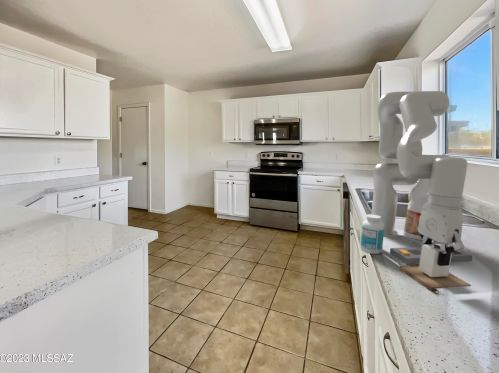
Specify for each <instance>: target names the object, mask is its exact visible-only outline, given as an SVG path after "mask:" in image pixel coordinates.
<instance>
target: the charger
mask: <svg viewBox="0 0 499 373" xmlns="http://www.w3.org/2000/svg"><path fill="white" fill-rule="evenodd" d="M421 247H422V250H421V257H420V264H418V265H419V270H421V271H422V272H424V273H425V274H427V275H428V276H430V277H441V276H448V274H449V273H450V268H451V263H452V262H451V257H450V263H449V265H448V266H439V265H438V264H437V263H438V256H439V252H442V251H441V243H432V244H428V245H423V244H422V245H421ZM451 256H452V253H451Z"/></svg>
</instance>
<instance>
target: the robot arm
mask: <svg viewBox="0 0 499 373" xmlns="http://www.w3.org/2000/svg"><path fill="white" fill-rule="evenodd" d="M449 107H450V97H449V95H448V94H447V93H446V92H444V91H442V90H419V91H417V90H416V91H392V92H388V93H385V94H383V95H381V97H380V98H379V101H378V104H377V117H378V122H379V140H378V141H379V142H378V156H379V157H380V159H383V160H395V161H397V162H381V163H378V164H376V165H375V166H374V167H373V170H372V178H373V193H372V194H373V195H372V205H371V214H370V215H378V216H381V221H380V222H381V223H383V224H384V237H393V236H398V235H399V232H398V231H397V230H396V229H395V225H396V218H397V207H398V198H399V195H398V193H397V191H396V189H395V188H394V186H414V185H415V184H416V185H417V184H418V182H419V180H420V179H430V185H429V193H428V194H427V197H428V199H427V202H425V204H424V206H423V209H422V212H421V215H420V220H419V225H418V228H417V230H418V232H419V233H420V236H421V238H422V240H421V243H422V245H428V244H434V241H435V242H437V243H438V244H440V245H441V251H442V252H439V256H438V263H437V264H438V265H439V266H448V265H449V263H450V264H451V262H450V257H451V253H454V252H455V251H457V250H463V249H465V246H464V243H463V240H462V239H461V238H462V234H463V233H462V232H463V209H462V208H461V205H462V200H463V193H464V187H465V182H466V175H467V168H468V160H467V159H466V158H463V157H459V156H458V157H457V156H455V157H454V156H449V155H446V154H445V155H444V154H423V145H422V140H423V139H426V138H428V137H429V136H431V135H432V134H434V133H435V131H436V130H437V128H438V126H437V125H438V124H437V122H436V121H437V120H436V119H435V117H439V116H443V115H444V114H445V113H447V111H448V109H449ZM398 115H401V118H402V120H401V118H400V117H399V116H398ZM404 129H405V134H404ZM446 246H448V248H447V247H446Z"/></svg>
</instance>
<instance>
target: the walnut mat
mask: <svg viewBox="0 0 499 373" xmlns="http://www.w3.org/2000/svg"><path fill="white" fill-rule="evenodd" d="M399 270H401V271H402V272H403V273H404V272H405V275H408V277H410V278H411V279H413V280H414V281H416V282H417V283H418V284H420V285H421V286H423V287H424V288H425V287H426V289H427V290H428V291H430V292H439V290H438V289H439V288H440V289H441V288H452V287H469V286H471V284H470V283H468V282H467V281H465V280H464V279H462V278H459V277H458V276H457V275H455V274H453V273H451V272H449V274H448V276H441V277H430V276H428V275H427V274H425V273H424V272H422V271H421V270H419V264H405V265H399Z"/></svg>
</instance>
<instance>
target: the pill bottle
mask: <svg viewBox="0 0 499 373" xmlns="http://www.w3.org/2000/svg"><path fill="white" fill-rule="evenodd" d="M380 221H381V216H378V215H371V214H367V215H366V219H365V220H364V221H362V224H361V233H360V234H361V235H360V246H359V248H360V250H361V251H363V252H364V253H367V254H370V255H379V254H381V253H382V252H383V247H384V246H383V245H384V237H385V236H384V224H383V223H381V222H380Z"/></svg>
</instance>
